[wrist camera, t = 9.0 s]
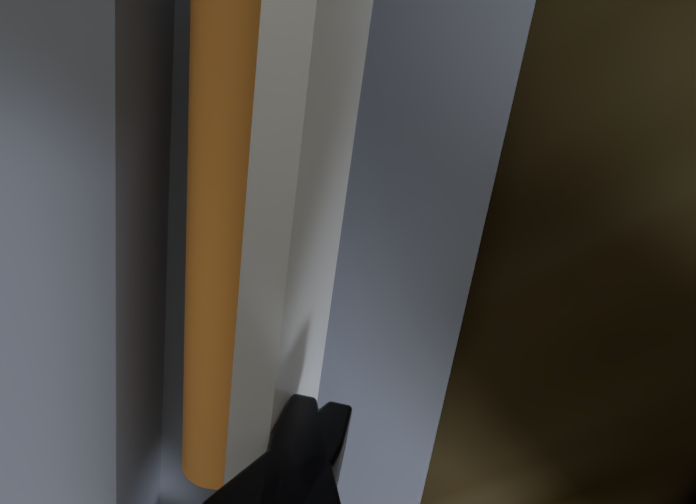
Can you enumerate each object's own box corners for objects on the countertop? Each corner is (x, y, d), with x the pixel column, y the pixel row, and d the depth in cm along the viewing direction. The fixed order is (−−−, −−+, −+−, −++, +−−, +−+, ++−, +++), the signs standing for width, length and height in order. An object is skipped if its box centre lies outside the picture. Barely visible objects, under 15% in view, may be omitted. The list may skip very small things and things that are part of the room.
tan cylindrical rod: (252, 8, 15) (170, -9, 13) (314, 10, 13) (230, -9, 12) (230, 427, 19) (167, 457, 18) (274, 465, 18) (209, 502, 16)
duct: (579, -219, 13) (653, -343, 9) (398, 580, 21) (397, 689, 17) (-89, -297, 14) (-277, -440, 10) (-10, 501, 22) (-95, 589, 18)
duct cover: (381, -298, 10) (414, -296, 10) (264, 642, 17) (282, 646, 17) (326, -844, 4) (408, -845, 4) (189, 916, 12) (216, 923, 12)
